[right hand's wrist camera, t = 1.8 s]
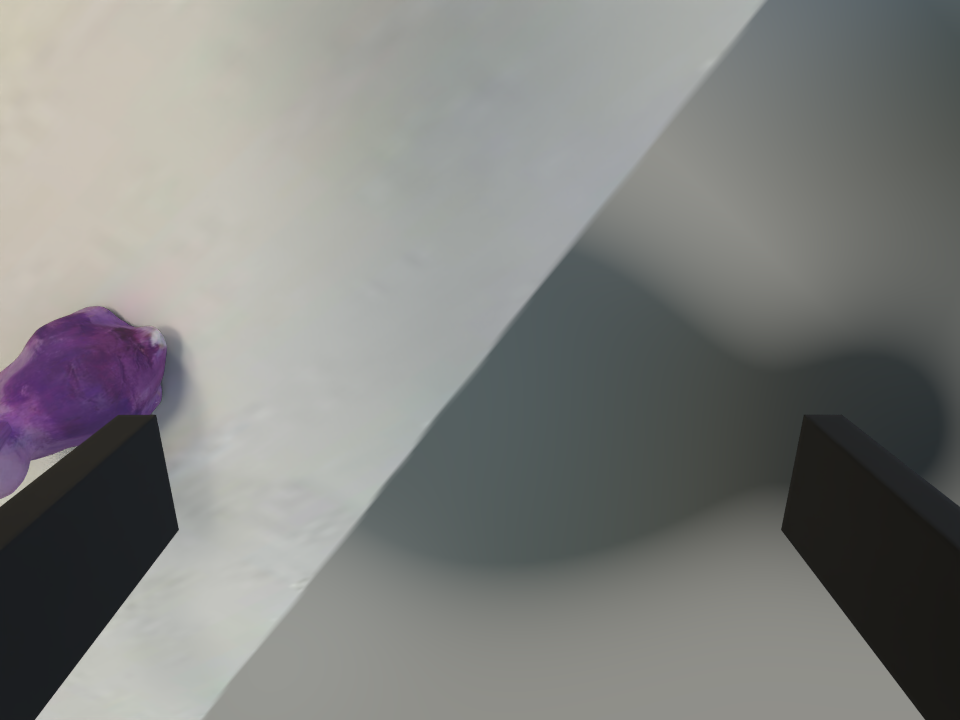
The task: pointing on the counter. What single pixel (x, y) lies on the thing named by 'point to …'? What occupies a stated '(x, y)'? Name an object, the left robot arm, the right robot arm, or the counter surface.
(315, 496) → the counter surface
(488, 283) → the counter surface
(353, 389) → the counter surface
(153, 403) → the figurine
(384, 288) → the counter surface
